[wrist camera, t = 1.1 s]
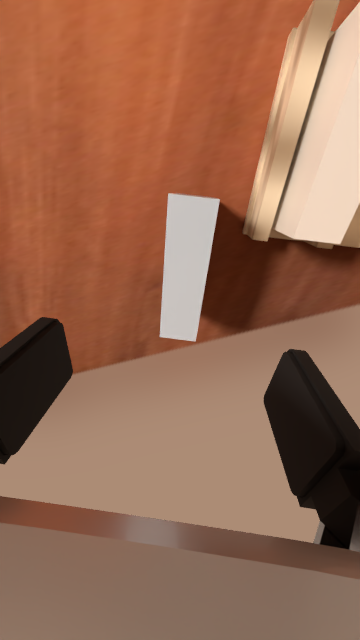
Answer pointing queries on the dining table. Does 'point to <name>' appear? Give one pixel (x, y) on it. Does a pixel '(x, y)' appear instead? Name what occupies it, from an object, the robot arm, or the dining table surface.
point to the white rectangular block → (186, 262)
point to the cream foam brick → (327, 147)
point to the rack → (292, 125)
